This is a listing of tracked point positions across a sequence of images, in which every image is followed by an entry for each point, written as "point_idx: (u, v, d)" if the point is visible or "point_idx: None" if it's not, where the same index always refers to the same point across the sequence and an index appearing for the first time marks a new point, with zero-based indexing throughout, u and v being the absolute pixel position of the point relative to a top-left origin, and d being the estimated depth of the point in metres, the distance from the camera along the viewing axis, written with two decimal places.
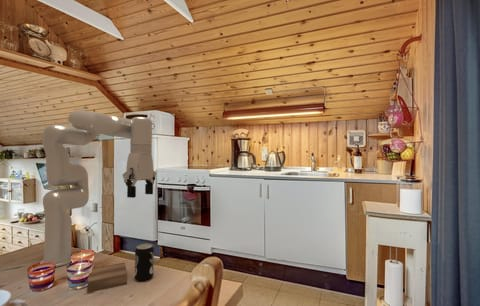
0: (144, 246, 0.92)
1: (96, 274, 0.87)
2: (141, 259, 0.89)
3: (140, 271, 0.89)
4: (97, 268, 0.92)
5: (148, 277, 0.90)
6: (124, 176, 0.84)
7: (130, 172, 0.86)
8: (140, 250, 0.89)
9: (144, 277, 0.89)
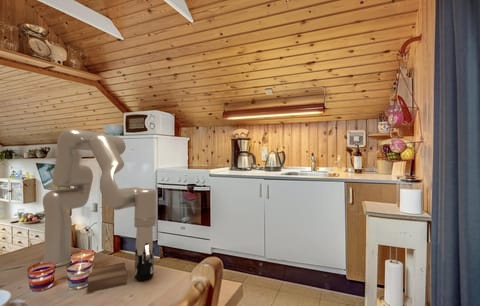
0: None
1: (96, 274, 0.87)
2: (141, 259, 0.89)
3: (140, 271, 0.89)
4: (97, 268, 0.92)
5: (148, 277, 0.90)
6: (148, 257, 0.86)
7: (148, 249, 0.88)
8: None
9: (145, 277, 0.89)
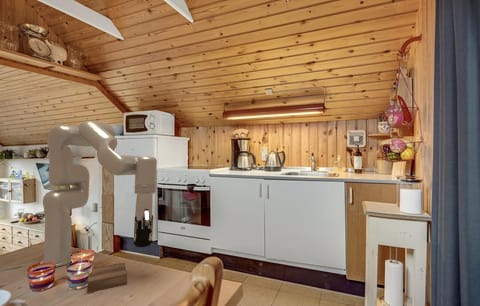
0: None
1: (96, 274, 0.87)
2: (140, 225, 0.90)
3: (139, 237, 0.89)
4: (97, 268, 0.92)
5: (147, 243, 0.90)
6: (147, 222, 0.86)
7: None
8: None
9: (143, 243, 0.90)
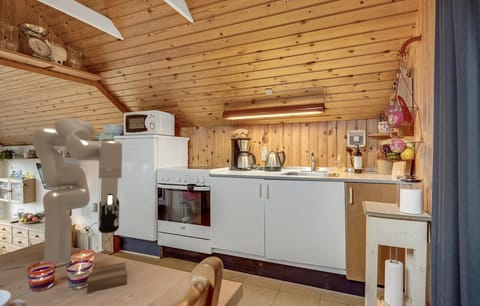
0: None
1: (96, 274, 0.87)
2: (104, 210, 0.87)
3: None
4: (97, 268, 0.92)
5: (112, 229, 0.88)
6: (110, 206, 0.84)
7: (111, 200, 0.86)
8: None
9: (108, 229, 0.87)
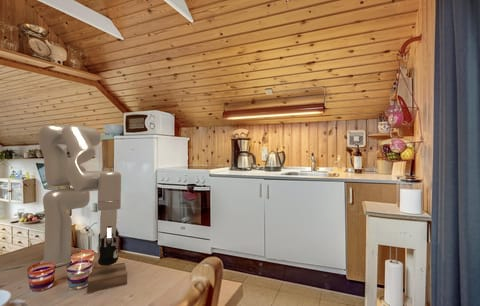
0: None
1: (96, 274, 0.87)
2: None
3: None
4: (97, 268, 0.92)
5: (111, 261, 0.88)
6: (109, 239, 0.84)
7: (111, 232, 0.86)
8: None
9: (107, 261, 0.87)
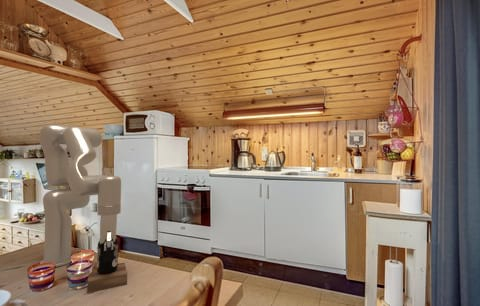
0: None
1: (96, 274, 0.87)
2: None
3: (102, 264, 0.87)
4: None
5: (110, 270, 0.88)
6: (109, 242, 0.83)
7: (110, 236, 0.85)
8: None
9: (106, 270, 0.87)
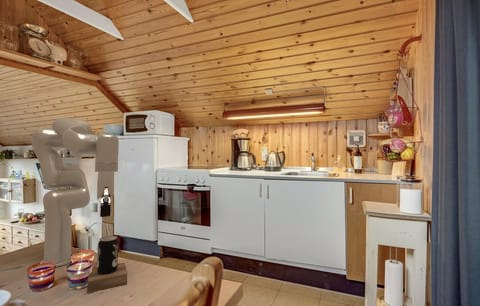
0: (108, 239, 0.90)
1: (96, 274, 0.87)
2: (103, 251, 0.87)
3: (102, 264, 0.87)
4: None
5: (110, 270, 0.88)
6: (106, 196, 0.84)
7: (108, 191, 0.86)
8: (102, 242, 0.87)
9: (106, 270, 0.87)
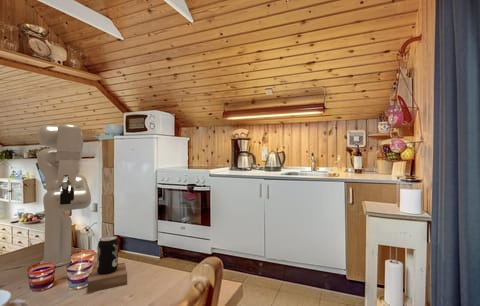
0: (108, 238, 0.90)
1: (96, 274, 0.87)
2: (103, 251, 0.87)
3: (102, 264, 0.87)
4: None
5: (110, 270, 0.88)
6: (65, 183, 0.86)
7: (67, 179, 0.88)
8: (102, 242, 0.87)
9: (106, 270, 0.87)
